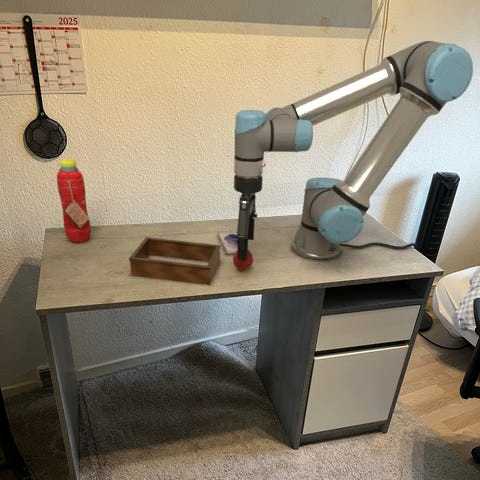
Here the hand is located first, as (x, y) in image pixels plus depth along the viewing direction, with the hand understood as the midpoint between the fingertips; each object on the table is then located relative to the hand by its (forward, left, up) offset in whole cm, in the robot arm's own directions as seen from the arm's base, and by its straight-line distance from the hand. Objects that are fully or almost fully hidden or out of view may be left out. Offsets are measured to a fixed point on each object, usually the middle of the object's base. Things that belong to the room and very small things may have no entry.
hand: (245, 249), depth 135 cm
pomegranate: (+1, 0, -7) cm, 7 cm away
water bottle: (+54, -7, -7) cm, 55 cm away
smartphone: (+6, -17, -7) cm, 19 cm away
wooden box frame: (+19, +4, -7) cm, 21 cm away
